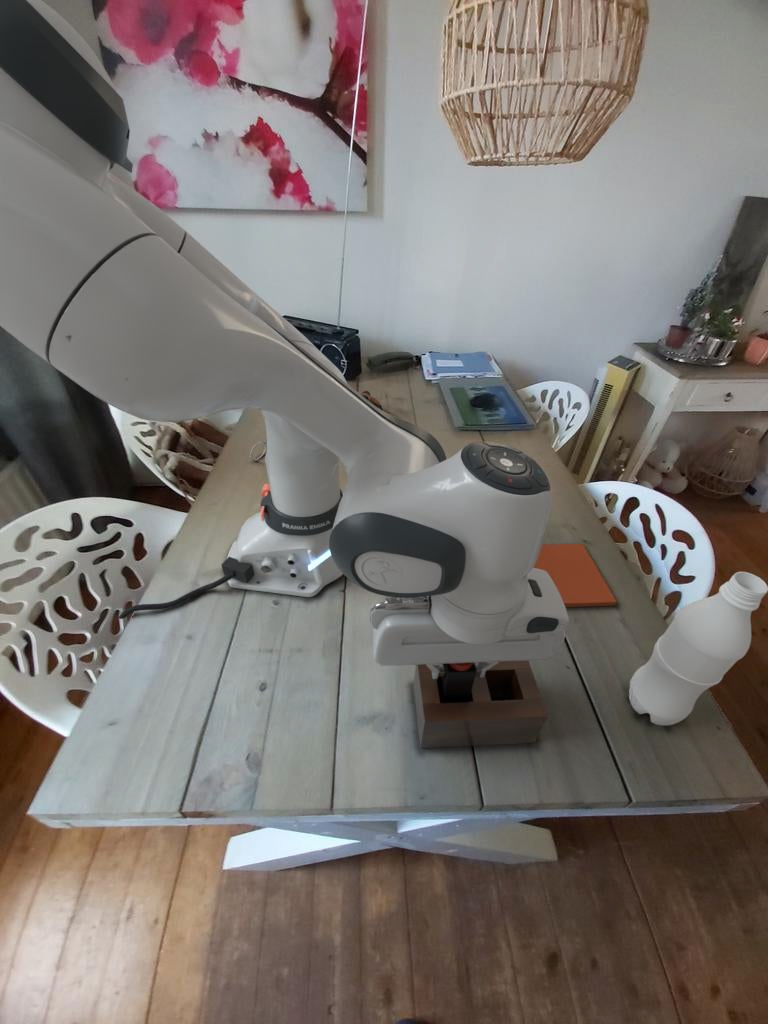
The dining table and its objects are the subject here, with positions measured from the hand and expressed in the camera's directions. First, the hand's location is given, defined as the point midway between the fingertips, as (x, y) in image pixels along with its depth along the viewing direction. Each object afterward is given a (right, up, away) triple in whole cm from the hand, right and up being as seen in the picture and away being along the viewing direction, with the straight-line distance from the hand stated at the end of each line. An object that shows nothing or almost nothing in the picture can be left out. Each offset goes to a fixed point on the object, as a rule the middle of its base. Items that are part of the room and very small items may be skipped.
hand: (457, 672), depth 52 cm
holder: (+3, -8, +7) cm, 11 cm away
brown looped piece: (-14, +46, +72) cm, 86 cm away
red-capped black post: (0, -8, +6) cm, 10 cm away
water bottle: (+28, -8, +8) cm, 30 cm away
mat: (+23, +8, +26) cm, 35 cm away
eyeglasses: (-28, +33, +55) cm, 70 cm away
